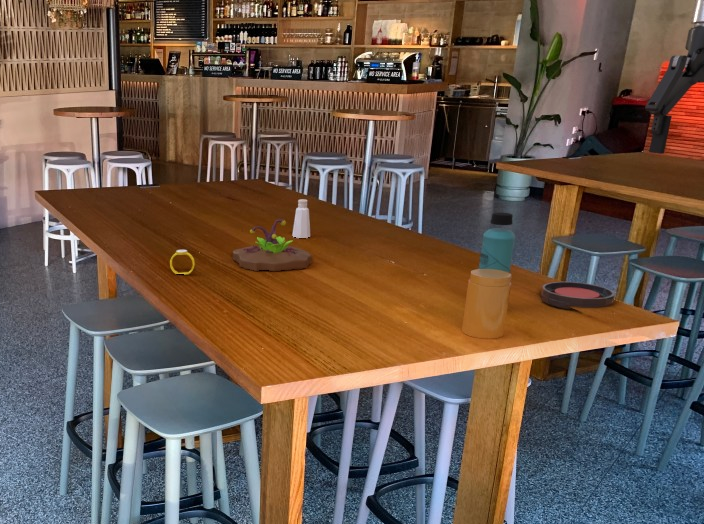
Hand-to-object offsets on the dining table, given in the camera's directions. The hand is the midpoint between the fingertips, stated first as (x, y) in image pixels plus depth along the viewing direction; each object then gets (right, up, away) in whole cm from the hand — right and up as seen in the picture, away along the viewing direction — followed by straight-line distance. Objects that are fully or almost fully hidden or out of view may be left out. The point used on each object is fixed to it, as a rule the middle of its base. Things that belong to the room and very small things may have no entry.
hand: (686, 152), depth 146 cm
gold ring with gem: (-94, -16, +49) cm, 107 cm away
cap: (-9, -24, +24) cm, 35 cm away
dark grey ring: (-9, -25, +24) cm, 36 cm away
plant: (-70, -11, +61) cm, 94 cm away
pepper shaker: (-58, +1, +92) cm, 109 cm away
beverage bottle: (-29, -27, +21) cm, 45 cm away
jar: (-35, -33, +6) cm, 49 cm away
